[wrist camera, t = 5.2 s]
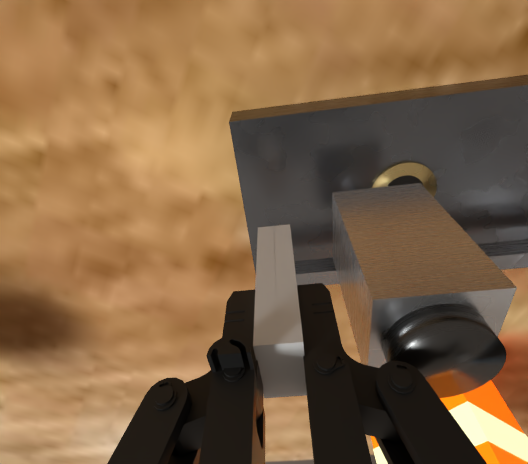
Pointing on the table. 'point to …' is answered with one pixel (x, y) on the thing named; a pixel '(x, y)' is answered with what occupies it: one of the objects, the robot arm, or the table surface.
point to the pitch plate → (389, 164)
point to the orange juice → (484, 426)
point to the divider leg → (419, 287)
